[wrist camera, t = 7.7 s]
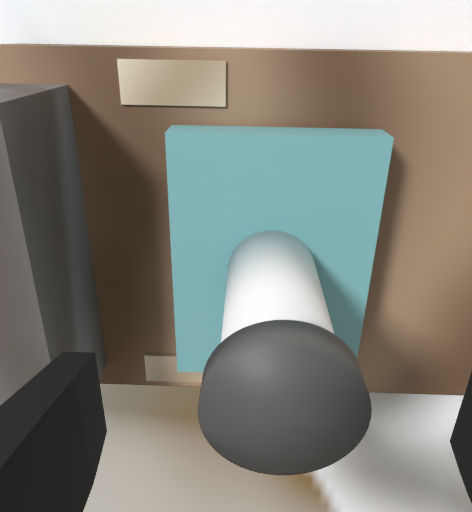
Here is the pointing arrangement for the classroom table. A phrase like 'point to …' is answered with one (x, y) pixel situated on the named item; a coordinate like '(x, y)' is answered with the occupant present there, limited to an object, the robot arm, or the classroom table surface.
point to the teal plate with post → (275, 285)
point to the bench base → (157, 207)
